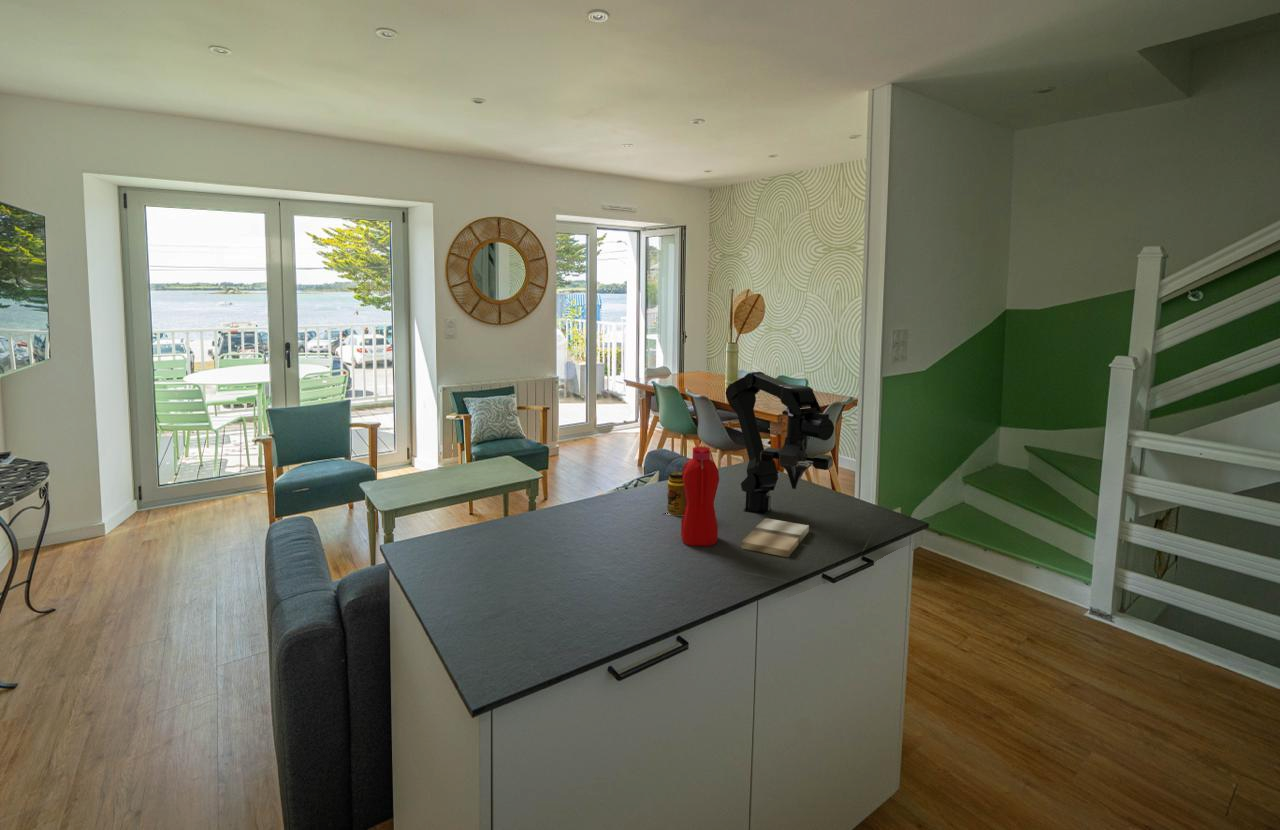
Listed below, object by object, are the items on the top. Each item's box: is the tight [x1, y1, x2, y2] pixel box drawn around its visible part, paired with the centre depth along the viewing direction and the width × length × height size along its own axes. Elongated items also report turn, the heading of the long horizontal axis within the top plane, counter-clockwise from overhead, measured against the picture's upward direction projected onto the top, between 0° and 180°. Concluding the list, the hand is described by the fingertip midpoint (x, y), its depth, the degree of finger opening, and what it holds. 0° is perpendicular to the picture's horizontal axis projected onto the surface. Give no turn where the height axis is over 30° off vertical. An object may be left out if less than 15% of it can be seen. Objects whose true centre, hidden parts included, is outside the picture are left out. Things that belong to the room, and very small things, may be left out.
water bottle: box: [680, 446, 720, 547], centre depth 166 cm, size 9×11×25 cm
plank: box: [755, 517, 810, 543], centre depth 174 cm, size 12×9×2 cm
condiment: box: [665, 470, 686, 517], centre depth 191 cm, size 7×8×12 cm
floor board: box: [740, 529, 800, 558], centre depth 165 cm, size 12×10×2 cm
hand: (794, 488), depth 179 cm, fingers closed
